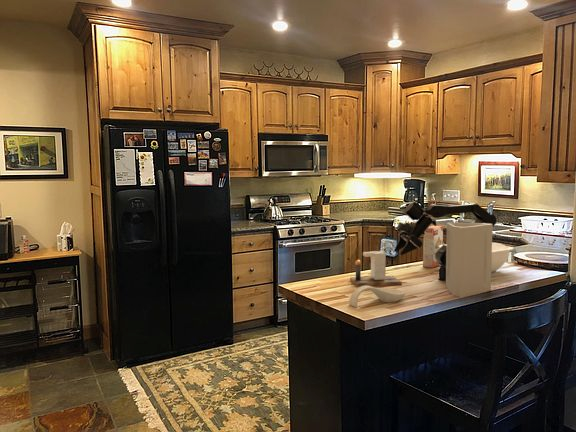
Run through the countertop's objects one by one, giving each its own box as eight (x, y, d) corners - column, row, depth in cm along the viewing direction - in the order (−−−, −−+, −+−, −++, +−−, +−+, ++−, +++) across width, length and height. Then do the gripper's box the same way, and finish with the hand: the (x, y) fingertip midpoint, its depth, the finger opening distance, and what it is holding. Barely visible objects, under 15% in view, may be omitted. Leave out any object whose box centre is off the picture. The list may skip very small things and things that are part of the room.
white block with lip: (381, 276, 215) (381, 250, 214) (385, 279, 209) (385, 253, 208) (362, 277, 214) (362, 251, 213) (365, 280, 208) (365, 253, 207)
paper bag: (462, 283, 208) (463, 221, 205) (491, 290, 195) (493, 224, 193) (432, 289, 198) (433, 224, 195) (461, 297, 185) (463, 227, 183)
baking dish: (475, 280, 213) (476, 253, 212) (428, 269, 237) (429, 245, 236) (522, 271, 229) (523, 246, 228) (474, 262, 254) (474, 239, 253)
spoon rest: (391, 295, 191) (391, 278, 190) (411, 302, 181) (411, 284, 180) (343, 303, 180) (343, 285, 180) (361, 311, 170) (361, 292, 169)
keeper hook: (360, 279, 212) (360, 259, 211) (361, 280, 210) (361, 260, 209) (354, 279, 212) (354, 259, 211) (356, 280, 209) (355, 260, 208)
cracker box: (433, 268, 240) (434, 228, 238) (422, 267, 244) (422, 227, 242) (442, 263, 251) (443, 225, 250) (432, 262, 255) (432, 224, 253)
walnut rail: (392, 278, 219) (392, 275, 218) (401, 284, 207) (401, 280, 207) (350, 280, 217) (350, 276, 216) (356, 286, 205) (356, 282, 204)
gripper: (401, 213, 221) (379, 238, 221) (414, 217, 202) (390, 244, 203) (418, 228, 222) (396, 253, 222) (432, 234, 203) (408, 260, 204)
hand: (397, 252), depth 213 cm, fingers open, 9 cm apart
